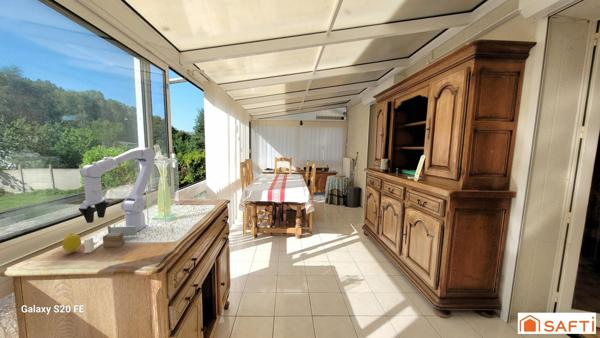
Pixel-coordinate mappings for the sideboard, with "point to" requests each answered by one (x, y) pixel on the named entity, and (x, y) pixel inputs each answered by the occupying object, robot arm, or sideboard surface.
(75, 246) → the lemon
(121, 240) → the brown block
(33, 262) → the sideboard surface
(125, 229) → the door
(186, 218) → the sideboard surface
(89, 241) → the white bracket
